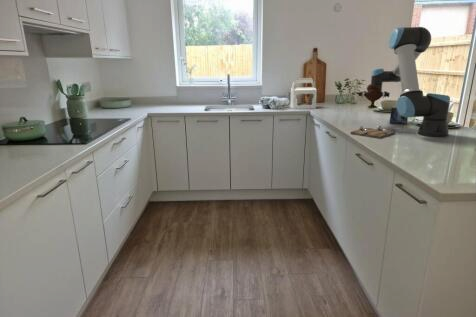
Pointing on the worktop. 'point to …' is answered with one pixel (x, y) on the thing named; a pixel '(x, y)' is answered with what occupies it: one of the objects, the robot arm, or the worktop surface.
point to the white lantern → (303, 90)
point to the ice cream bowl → (373, 94)
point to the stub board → (372, 132)
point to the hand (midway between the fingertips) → (373, 95)
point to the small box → (397, 117)
